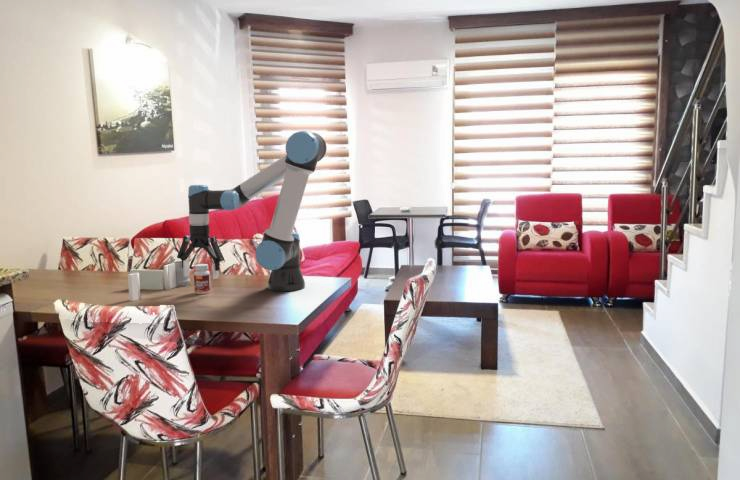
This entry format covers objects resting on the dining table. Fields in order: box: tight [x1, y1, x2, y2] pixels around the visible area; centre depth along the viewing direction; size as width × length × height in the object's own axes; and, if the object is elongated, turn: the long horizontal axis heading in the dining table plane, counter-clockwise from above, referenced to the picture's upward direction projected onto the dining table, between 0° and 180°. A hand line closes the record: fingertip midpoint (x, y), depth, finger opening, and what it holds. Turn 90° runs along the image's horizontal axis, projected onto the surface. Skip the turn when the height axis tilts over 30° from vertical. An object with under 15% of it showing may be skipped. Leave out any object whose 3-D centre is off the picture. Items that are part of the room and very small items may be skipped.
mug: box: [169, 255, 192, 288], centre depth 245 cm, size 8×12×12 cm, turn 54°
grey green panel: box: [129, 268, 165, 291], centre depth 236 cm, size 2×14×8 cm, turn 81°
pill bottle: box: [193, 263, 212, 295], centre depth 228 cm, size 6×6×11 cm
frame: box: [127, 263, 177, 302], centre depth 228 cm, size 2×26×10 cm, turn 161°
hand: (200, 277), depth 228 cm, fingers open, 13 cm apart
